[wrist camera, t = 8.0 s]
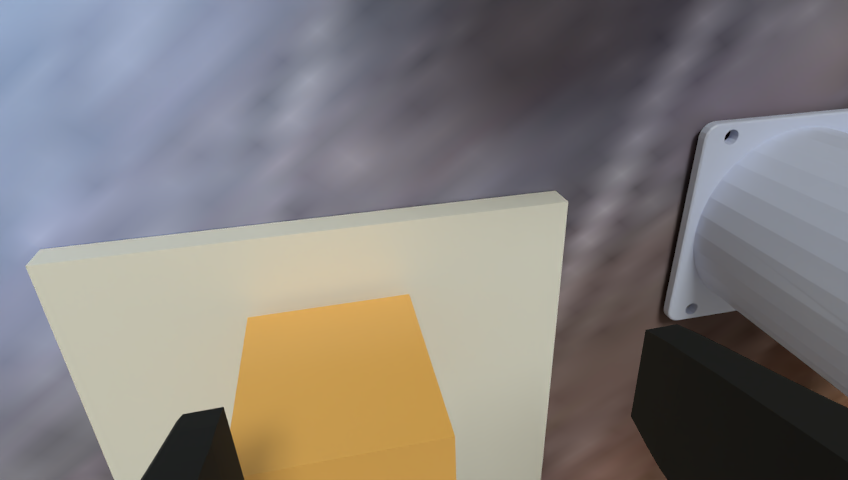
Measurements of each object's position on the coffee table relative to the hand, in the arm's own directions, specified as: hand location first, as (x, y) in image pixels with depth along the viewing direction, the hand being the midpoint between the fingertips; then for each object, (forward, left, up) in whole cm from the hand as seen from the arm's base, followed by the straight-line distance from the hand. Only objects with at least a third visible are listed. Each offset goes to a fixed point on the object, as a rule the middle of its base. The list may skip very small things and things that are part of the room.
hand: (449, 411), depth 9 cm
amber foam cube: (+2, +5, -8) cm, 10 cm away
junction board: (+2, +9, -9) cm, 13 cm away
